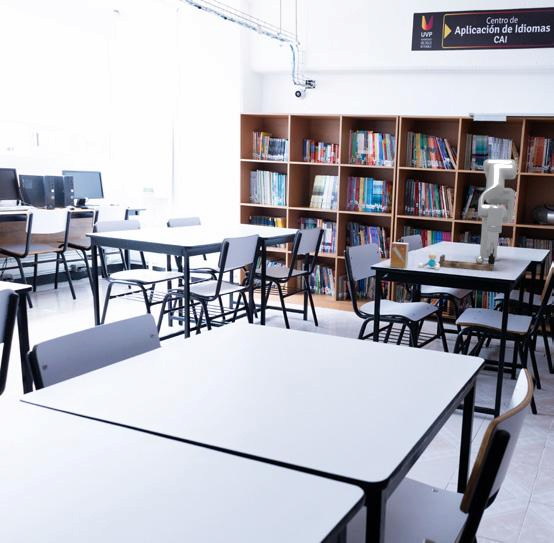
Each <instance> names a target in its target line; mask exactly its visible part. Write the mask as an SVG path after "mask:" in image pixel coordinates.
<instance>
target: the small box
mask: <svg viewBox="0 0 554 543" xmlns="http://www.w3.org/2000/svg"><path fill="white" fill-rule="evenodd" d="M409 247H410V242H397V241H393V242H392V243H391V248H390V263H389V264H390V265H389V268H393V267H395V269H403V268H405V269H407V268H408V263H409V262H408V261H409V251H410V250H409Z"/></svg>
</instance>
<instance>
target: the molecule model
mask: <svg viewBox="0 0 554 543" xmlns="http://www.w3.org/2000/svg"><path fill="white" fill-rule="evenodd" d="M428 258H429V260H428V261H427V262H426V263H422V262H419V263H418V265H417V267H418V268H420V269H422V268H424V267H426V266H429V267H430V268H434V270H435V271H439V270H440V269H441V267H440V264H439V263H438V262H436V259H437V253H435V252H430V253H429V254H428Z"/></svg>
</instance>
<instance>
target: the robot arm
mask: <svg viewBox="0 0 554 543" xmlns="http://www.w3.org/2000/svg"><path fill="white" fill-rule="evenodd" d="M482 166H483V171H484V174H485V178H486V184H485V185H486V186H485V190H484V191H483V192H482V193H481V194H480V196H479V198H478V205H477V215H478V217H479V218H481V234H480V246H479V256H482V257H483V258H484V261H487V264H494V265H495V263H496V262H495V261H497V262H498V261H500V258H499V257H497V255H498V246H499V234H501V233H502V227H503V224H509V223H512V221H513V218H514V208H515V190H514V189H512V188H511V187H505V180H514V179H516V178H517V172H518V167H517V161H516V160H515V159H511V158H509V159H508V158H487V159H485V160H484V161H483V164H482ZM484 202H486V203H487V204H486V203H485V204H484Z"/></svg>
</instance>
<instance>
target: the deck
mask: <svg viewBox="0 0 554 543" xmlns="http://www.w3.org/2000/svg"><path fill="white" fill-rule="evenodd" d="M445 258H446V254H441V255H440V256H439V261H438V262H437V263H439V264H440V268H450V269H451V268H452V269H460V268H461V270H472V271H484V270H485V272H493V271H494V269H495V268H494V267H495V263H494V264H488V262H487V263H485V262H483V263H482V264H477V263H476V262H475V261H474V262H473V261H472V262H470V261H462V260H461V261H459V260H447V259H445ZM492 270H493V271H492Z"/></svg>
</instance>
